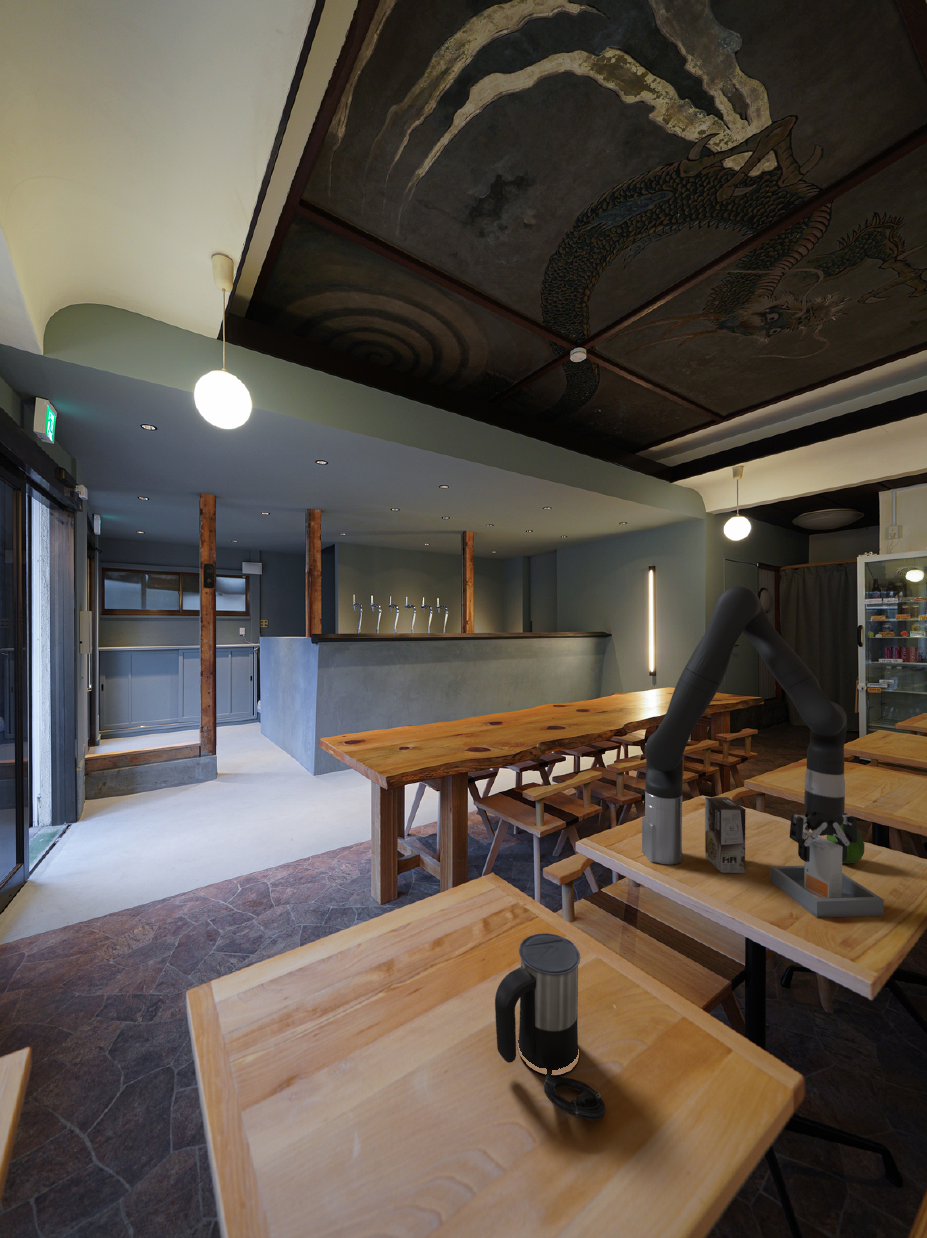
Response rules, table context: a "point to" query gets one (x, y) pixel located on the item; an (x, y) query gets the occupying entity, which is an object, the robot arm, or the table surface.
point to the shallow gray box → (851, 903)
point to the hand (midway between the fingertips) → (822, 860)
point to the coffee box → (725, 834)
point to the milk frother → (546, 1017)
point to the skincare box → (824, 869)
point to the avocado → (852, 848)
